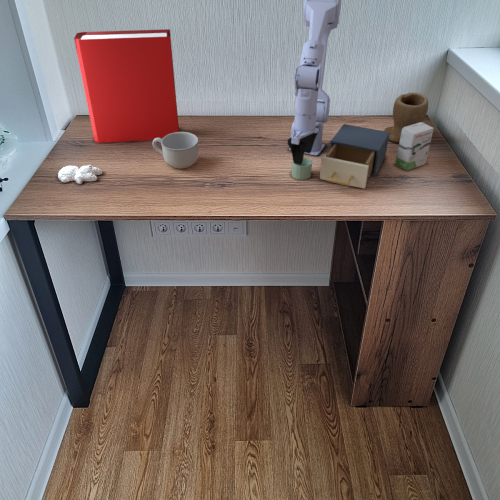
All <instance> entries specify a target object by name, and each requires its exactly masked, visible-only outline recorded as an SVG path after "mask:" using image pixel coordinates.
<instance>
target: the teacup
mask: <svg viewBox="0 0 500 500" xmlns="http://www.w3.org/2000/svg"><path fill="white" fill-rule="evenodd" d="M157 142H159V144H160V145H161V148H160V147H159V146H158V144H157ZM151 145H152V147H153V149H154V150H155V151H156V152H158V153H159V154H160V155H162V156H163V160H164V162H165V163H166V164H167V165H169V166H170V167H172V168H174V169H178V170H179V169H181V170H182V169H188V168H190V167H191V166H193V165H194V164H196V162H197V161H198V158H199V138H198V136H196V134H194V133H192V132H189V131H178V132H175V133H171V134H168V135H166V136H165V137H164V138H163V139H161V138H155V139H154V140H152V144H151Z"/></svg>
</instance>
